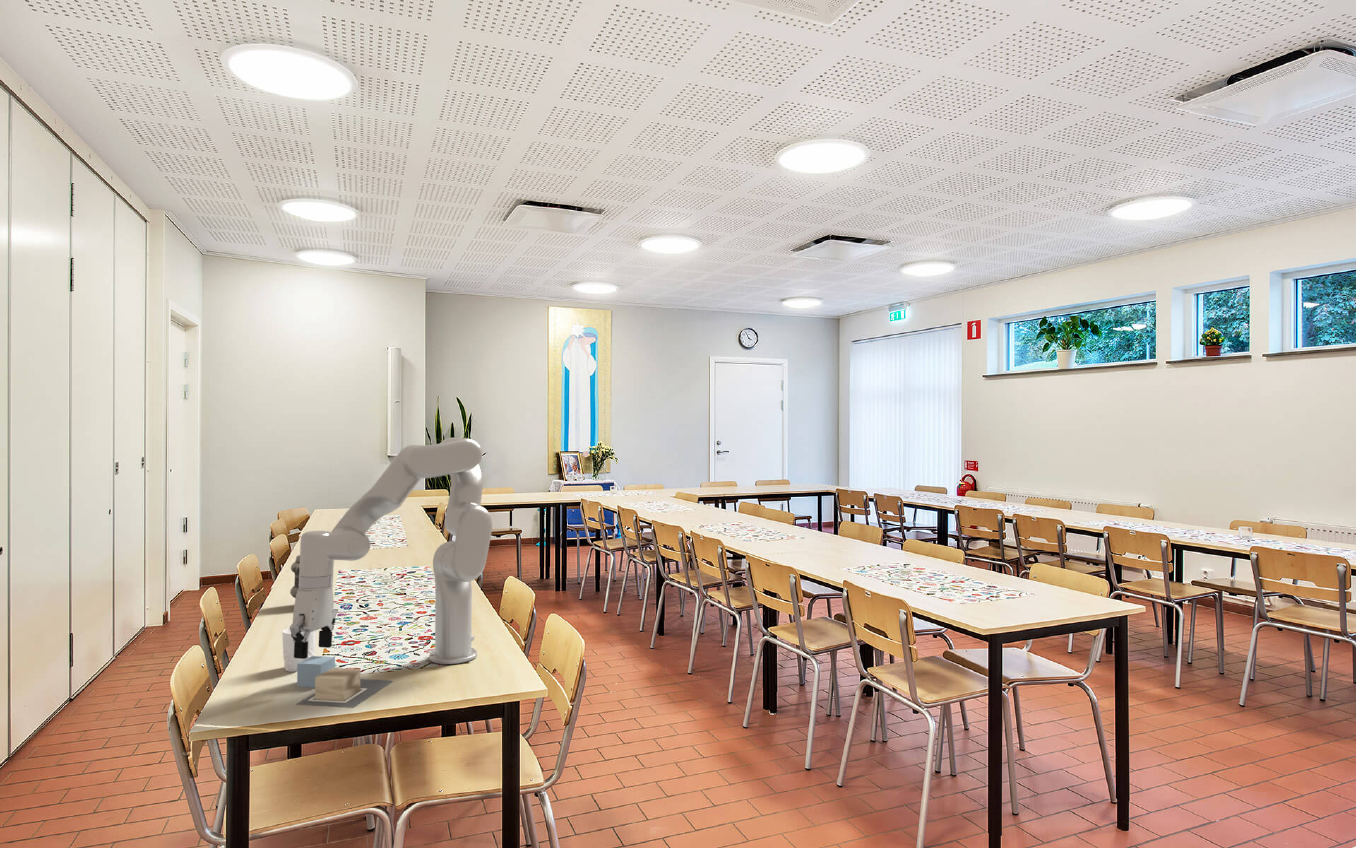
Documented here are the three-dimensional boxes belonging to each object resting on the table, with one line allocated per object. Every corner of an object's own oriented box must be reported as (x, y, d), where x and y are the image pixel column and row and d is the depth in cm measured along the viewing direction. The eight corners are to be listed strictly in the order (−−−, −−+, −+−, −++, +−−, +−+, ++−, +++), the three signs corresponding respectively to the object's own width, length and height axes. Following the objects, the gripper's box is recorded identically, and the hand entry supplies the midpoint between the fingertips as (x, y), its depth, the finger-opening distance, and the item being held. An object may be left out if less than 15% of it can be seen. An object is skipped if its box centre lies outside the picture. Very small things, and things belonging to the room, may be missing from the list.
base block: (332, 688, 180) (332, 668, 180) (360, 690, 179) (360, 669, 179) (315, 699, 173) (315, 677, 173) (343, 701, 172) (343, 679, 172)
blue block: (312, 680, 188) (312, 656, 188) (334, 681, 187) (334, 657, 187) (297, 688, 182) (297, 663, 182) (320, 689, 181) (320, 664, 181)
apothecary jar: (323, 601, 272) (323, 551, 272) (332, 607, 262) (333, 555, 263) (286, 606, 264) (286, 554, 264) (294, 612, 255) (295, 559, 255)
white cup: (307, 661, 202) (307, 624, 202) (321, 667, 197) (321, 629, 197) (276, 668, 196) (276, 630, 196) (290, 675, 191) (290, 635, 191)
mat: (340, 679, 188) (340, 677, 188) (393, 682, 186) (394, 680, 186) (295, 706, 170) (295, 704, 170) (353, 709, 168) (353, 707, 168)
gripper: (322, 575, 193) (320, 642, 193) (278, 588, 176) (275, 661, 176) (350, 576, 192) (347, 644, 192) (308, 589, 175) (305, 663, 175)
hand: (313, 652), depth 184 cm, fingers open, 9 cm apart
